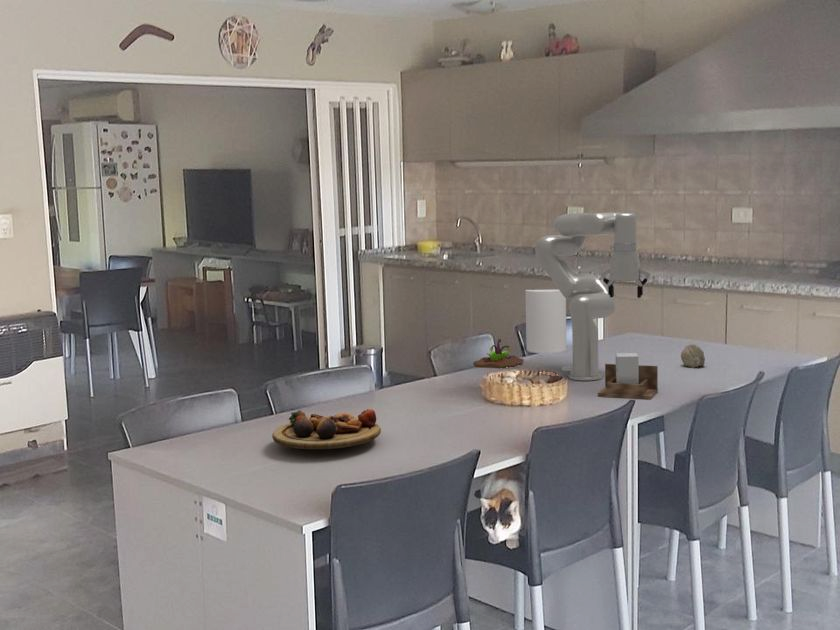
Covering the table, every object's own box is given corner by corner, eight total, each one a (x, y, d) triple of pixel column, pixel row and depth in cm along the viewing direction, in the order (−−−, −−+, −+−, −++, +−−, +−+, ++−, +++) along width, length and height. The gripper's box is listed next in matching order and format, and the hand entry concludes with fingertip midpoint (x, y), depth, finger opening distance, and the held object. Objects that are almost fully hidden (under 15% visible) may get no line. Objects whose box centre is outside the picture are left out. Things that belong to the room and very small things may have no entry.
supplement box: (637, 388, 341) (637, 352, 339) (638, 392, 333) (638, 356, 332) (615, 388, 342) (615, 352, 340) (616, 392, 334) (616, 356, 333)
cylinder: (565, 357, 417) (564, 291, 414) (524, 356, 421) (523, 291, 417) (567, 350, 434) (566, 287, 431) (528, 350, 438) (527, 288, 434)
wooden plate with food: (382, 423, 307) (382, 397, 306) (378, 449, 275) (377, 420, 274) (280, 426, 307) (279, 400, 306) (264, 452, 275) (263, 423, 274)
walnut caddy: (597, 396, 335) (597, 370, 334) (606, 389, 347) (606, 363, 346) (650, 399, 328) (650, 372, 327) (657, 391, 340) (657, 365, 338)
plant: (530, 363, 407) (529, 336, 405) (515, 371, 389) (514, 343, 387) (484, 361, 415) (484, 335, 413) (468, 369, 397) (467, 342, 396)
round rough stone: (707, 370, 376) (707, 345, 375) (684, 371, 376) (684, 345, 375) (700, 366, 385) (700, 341, 384) (678, 367, 386) (678, 342, 384)
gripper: (598, 249, 343) (598, 298, 345) (648, 249, 336) (648, 298, 338) (603, 248, 349) (603, 295, 351) (652, 247, 342) (652, 296, 345)
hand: (625, 297), depth 345 cm, fingers open, 9 cm apart
